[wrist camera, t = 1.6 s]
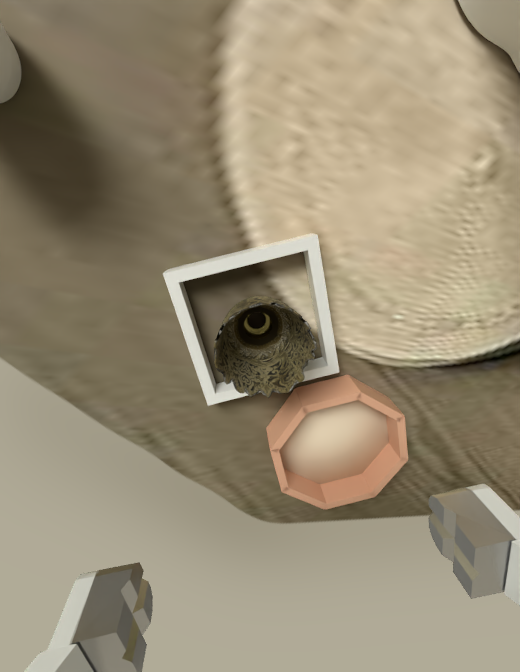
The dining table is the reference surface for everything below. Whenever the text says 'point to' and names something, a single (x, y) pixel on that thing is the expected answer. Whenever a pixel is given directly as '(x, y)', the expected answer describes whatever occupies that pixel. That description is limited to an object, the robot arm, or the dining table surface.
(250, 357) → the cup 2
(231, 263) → the open white square frame
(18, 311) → the dining table surface
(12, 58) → the cup
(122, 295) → the dining table surface
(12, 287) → the dining table surface
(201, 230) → the dining table surface
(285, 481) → the bowl
